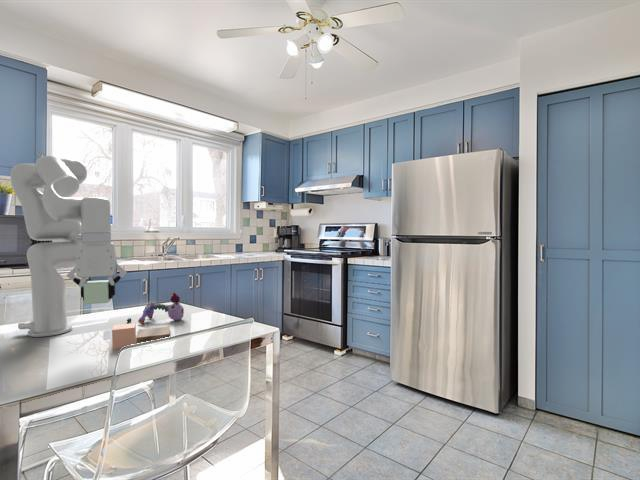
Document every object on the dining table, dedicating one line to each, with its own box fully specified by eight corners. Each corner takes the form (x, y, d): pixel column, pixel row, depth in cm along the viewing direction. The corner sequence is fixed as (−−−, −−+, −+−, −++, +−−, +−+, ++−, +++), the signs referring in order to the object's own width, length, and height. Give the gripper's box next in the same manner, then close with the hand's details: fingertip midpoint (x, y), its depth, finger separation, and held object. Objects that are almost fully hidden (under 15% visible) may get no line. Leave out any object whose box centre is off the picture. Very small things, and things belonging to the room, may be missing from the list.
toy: (169, 338, 139) (187, 303, 139) (133, 321, 137) (152, 286, 138) (177, 330, 149) (194, 298, 149) (144, 314, 148) (161, 282, 148)
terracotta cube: (112, 349, 111) (112, 329, 110) (114, 343, 116) (114, 325, 116) (134, 346, 113) (134, 327, 113) (135, 341, 118) (135, 322, 118)
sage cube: (84, 304, 106) (83, 283, 106) (89, 300, 112) (88, 281, 111) (107, 302, 108) (107, 282, 108) (111, 299, 114) (110, 279, 113)
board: (136, 342, 117) (136, 337, 117) (138, 333, 126) (138, 329, 126) (170, 338, 121) (169, 333, 121) (169, 330, 130) (169, 326, 130)
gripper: (58, 240, 103) (60, 303, 103) (127, 238, 109) (128, 299, 109) (66, 239, 110) (68, 298, 110) (130, 238, 116) (132, 294, 116)
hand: (98, 298), depth 110 cm, fingers closed on sage cube, 6 cm apart
